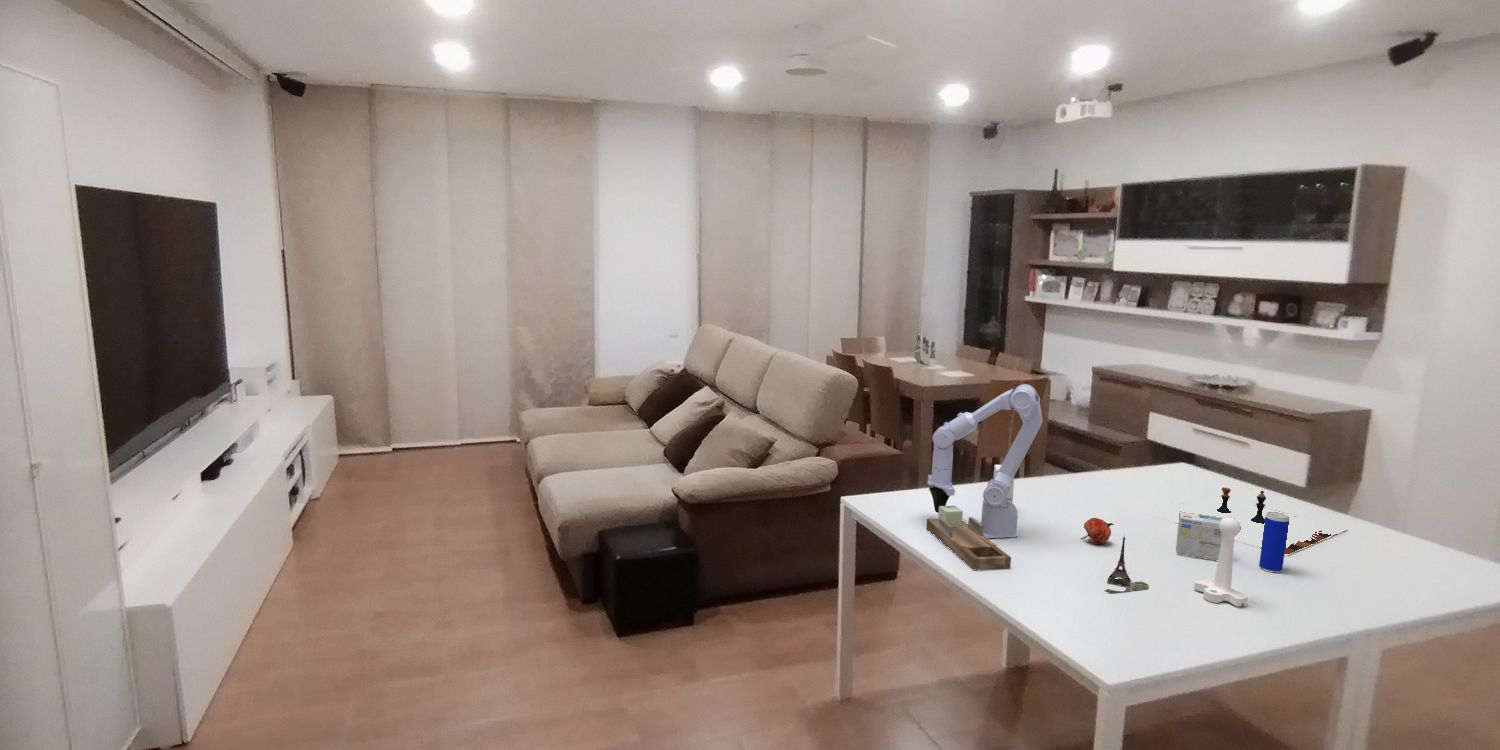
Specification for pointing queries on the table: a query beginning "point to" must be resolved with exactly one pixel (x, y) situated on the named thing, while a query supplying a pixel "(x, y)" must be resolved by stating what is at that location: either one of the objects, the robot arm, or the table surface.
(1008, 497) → the syrup box
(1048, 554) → the table surface
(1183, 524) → the light bulb box
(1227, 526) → the joystick
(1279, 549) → the beverage can
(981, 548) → the brown wooden long tray
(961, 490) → the table surface
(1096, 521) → the pomegranate
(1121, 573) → the eiffel tower figurine
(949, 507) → the green block
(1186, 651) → the table surface
